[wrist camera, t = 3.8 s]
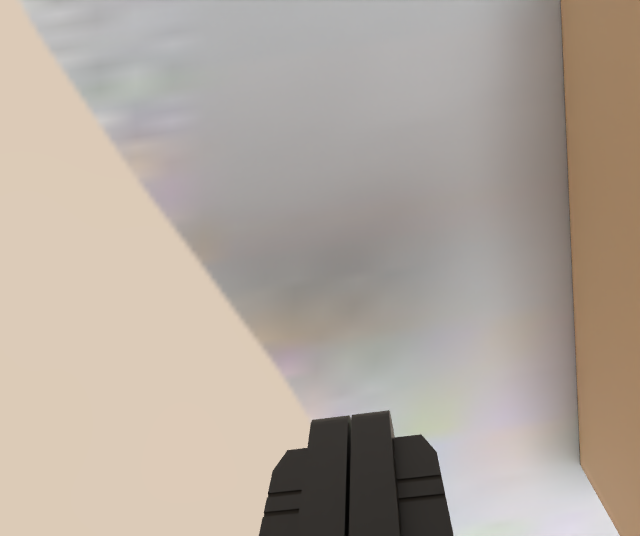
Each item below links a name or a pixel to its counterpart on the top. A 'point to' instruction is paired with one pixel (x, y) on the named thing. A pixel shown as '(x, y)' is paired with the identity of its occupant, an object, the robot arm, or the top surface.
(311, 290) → the top surface
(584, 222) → the tray
